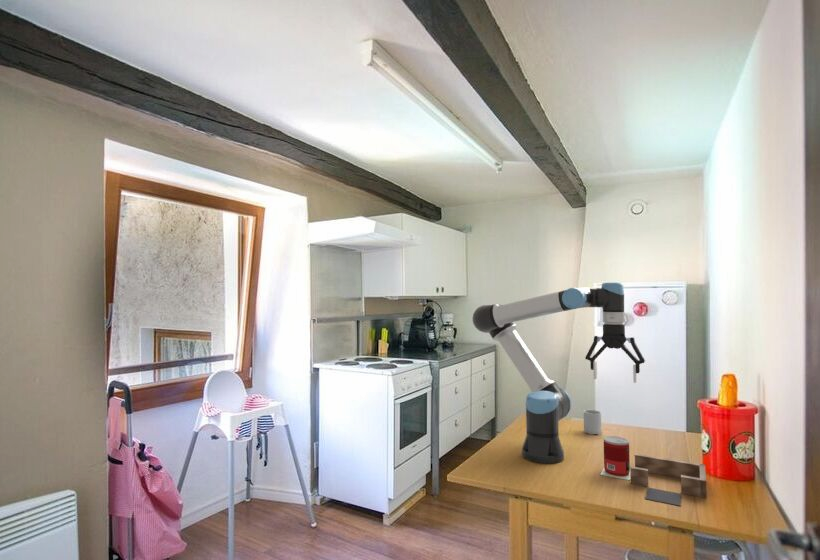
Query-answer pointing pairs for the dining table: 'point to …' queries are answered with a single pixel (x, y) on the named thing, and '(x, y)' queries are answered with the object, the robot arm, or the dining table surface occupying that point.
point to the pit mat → (663, 496)
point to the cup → (592, 421)
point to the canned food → (616, 456)
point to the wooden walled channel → (670, 473)
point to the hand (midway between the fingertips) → (614, 380)
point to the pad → (615, 476)
